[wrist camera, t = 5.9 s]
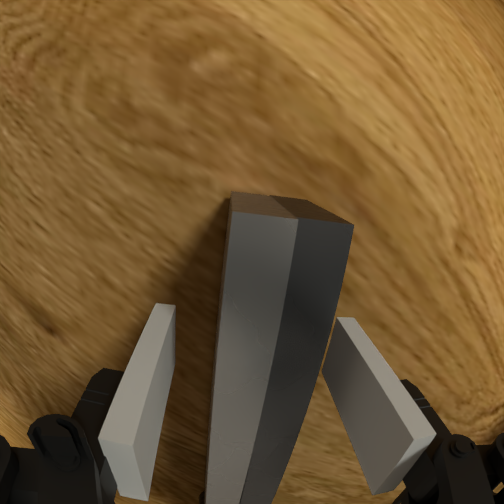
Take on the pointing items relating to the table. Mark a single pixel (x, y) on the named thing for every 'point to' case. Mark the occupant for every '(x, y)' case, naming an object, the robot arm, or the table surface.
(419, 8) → the table surface
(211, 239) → the table surface
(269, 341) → the bar
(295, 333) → the blade
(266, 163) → the table surface
